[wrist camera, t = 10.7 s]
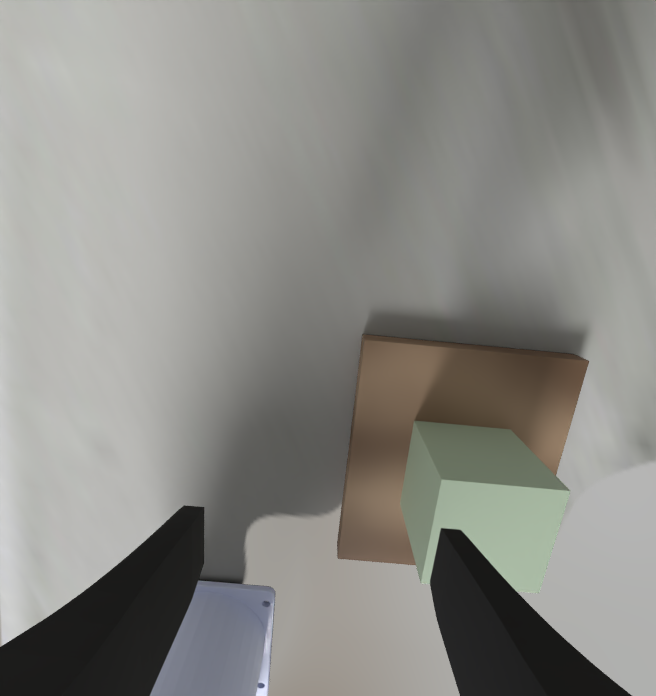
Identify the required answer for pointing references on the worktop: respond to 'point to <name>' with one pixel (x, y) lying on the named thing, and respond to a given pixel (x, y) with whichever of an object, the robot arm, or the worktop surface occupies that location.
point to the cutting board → (441, 407)
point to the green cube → (482, 499)
